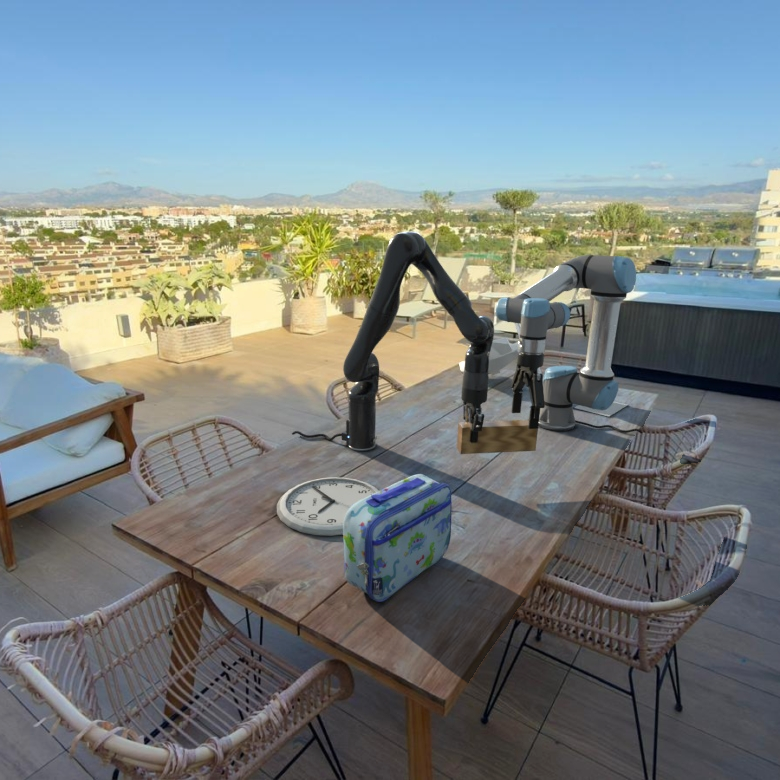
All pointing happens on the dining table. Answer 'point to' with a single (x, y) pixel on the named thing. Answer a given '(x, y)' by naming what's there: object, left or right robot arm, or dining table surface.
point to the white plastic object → (501, 354)
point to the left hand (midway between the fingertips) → (471, 438)
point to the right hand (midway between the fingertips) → (524, 420)
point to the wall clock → (321, 504)
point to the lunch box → (396, 535)
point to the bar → (497, 437)
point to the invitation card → (608, 412)
